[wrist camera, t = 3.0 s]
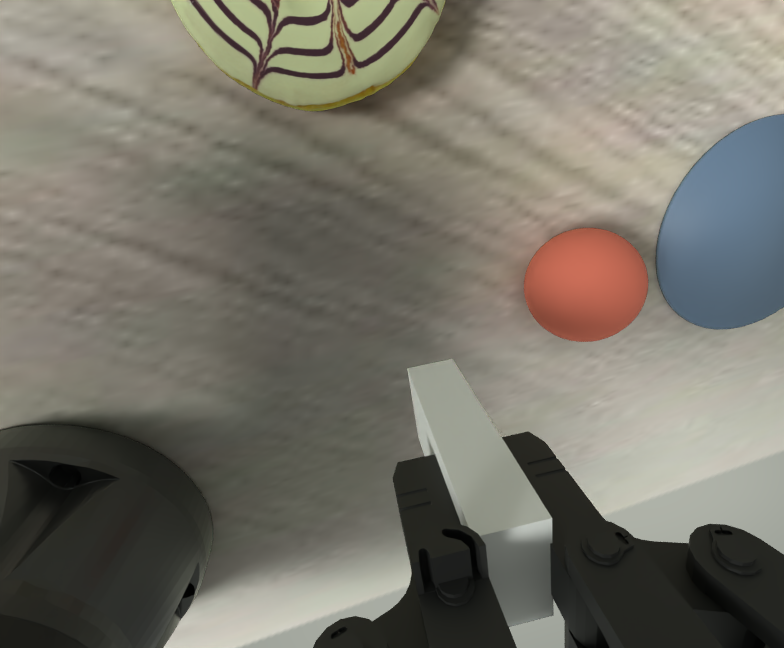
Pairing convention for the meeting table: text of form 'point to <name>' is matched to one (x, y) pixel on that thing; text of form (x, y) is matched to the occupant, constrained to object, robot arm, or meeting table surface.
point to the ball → (586, 284)
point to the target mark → (728, 231)
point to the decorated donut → (311, 45)
